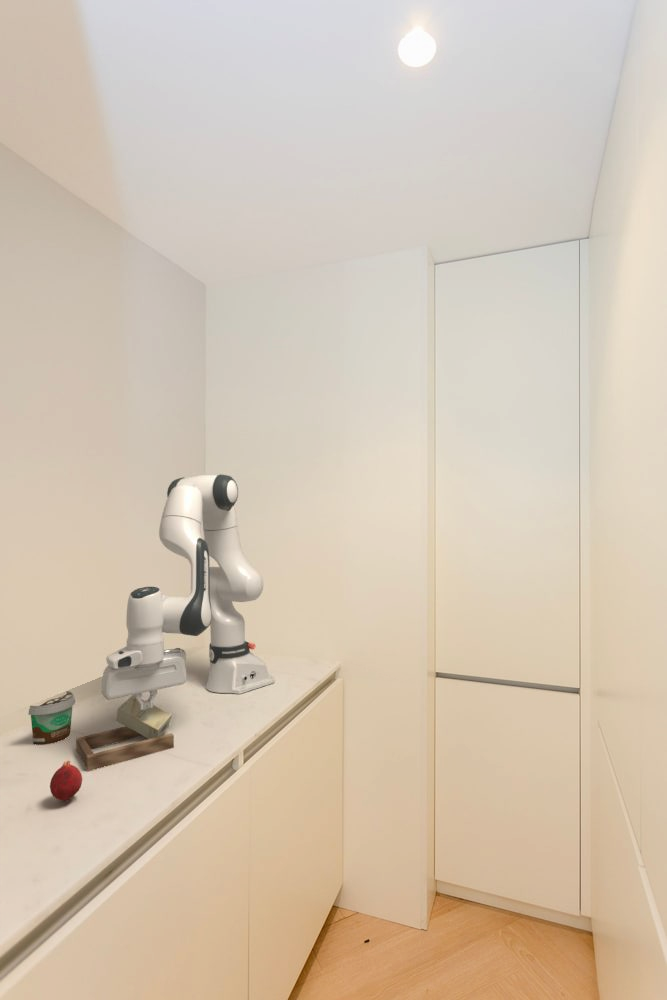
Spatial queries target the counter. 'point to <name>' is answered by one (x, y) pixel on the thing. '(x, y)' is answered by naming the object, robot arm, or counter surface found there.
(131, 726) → the skincare box
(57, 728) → the food container
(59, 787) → the red pomegranate
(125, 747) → the u rest
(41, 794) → the counter surface
